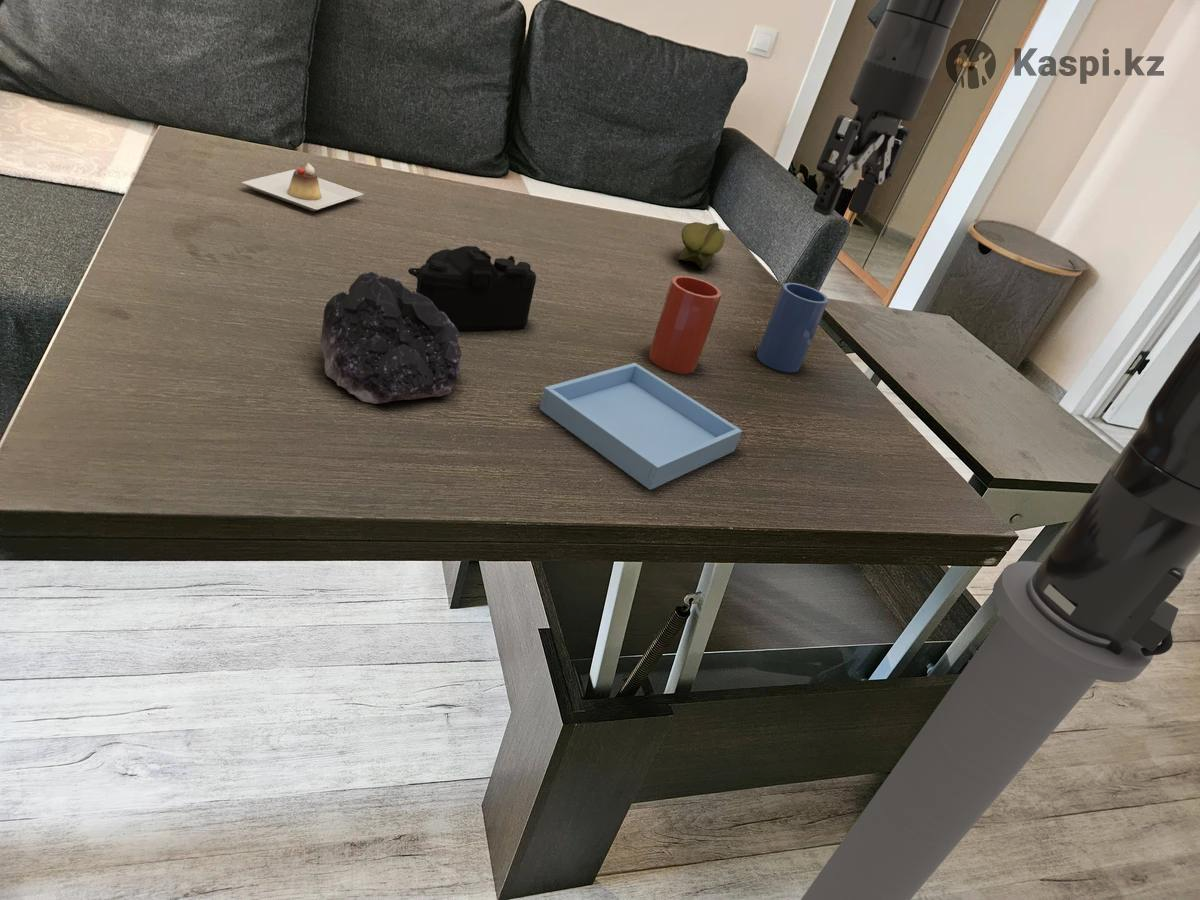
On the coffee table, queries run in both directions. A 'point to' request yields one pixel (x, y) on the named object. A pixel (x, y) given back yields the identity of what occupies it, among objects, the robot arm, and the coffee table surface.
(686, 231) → the fruit
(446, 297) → the film camera
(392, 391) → the crystal cluster
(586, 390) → the tray
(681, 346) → the red cup
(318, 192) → the dessert
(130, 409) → the coffee table surface
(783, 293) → the blue cup
